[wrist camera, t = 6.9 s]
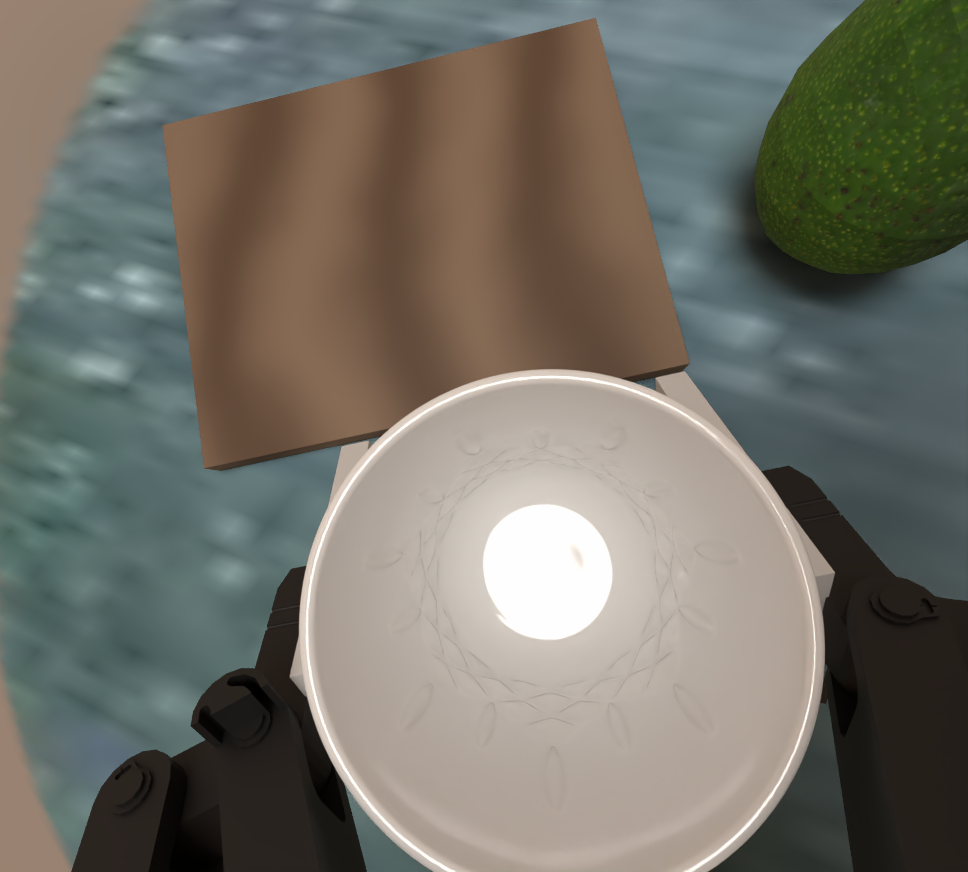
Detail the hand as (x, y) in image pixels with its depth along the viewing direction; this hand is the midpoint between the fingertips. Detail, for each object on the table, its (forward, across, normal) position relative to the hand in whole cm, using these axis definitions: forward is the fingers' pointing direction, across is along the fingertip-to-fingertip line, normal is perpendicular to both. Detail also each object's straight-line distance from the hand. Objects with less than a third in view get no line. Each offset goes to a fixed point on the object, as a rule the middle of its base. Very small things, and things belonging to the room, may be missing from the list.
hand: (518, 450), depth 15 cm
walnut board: (+13, -3, +2) cm, 13 cm away
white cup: (0, 0, -5) cm, 5 cm away
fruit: (+11, +14, 0) cm, 18 cm away
